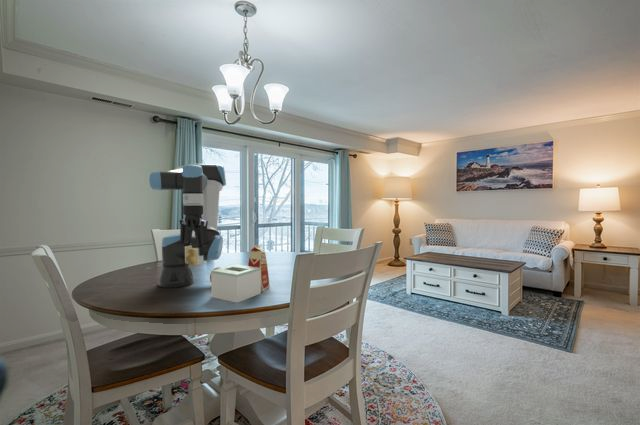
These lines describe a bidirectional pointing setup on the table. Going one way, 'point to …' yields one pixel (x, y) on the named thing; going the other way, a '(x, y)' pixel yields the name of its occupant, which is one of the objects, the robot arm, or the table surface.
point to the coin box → (236, 282)
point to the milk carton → (260, 265)
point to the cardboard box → (191, 256)
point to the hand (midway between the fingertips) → (194, 262)
